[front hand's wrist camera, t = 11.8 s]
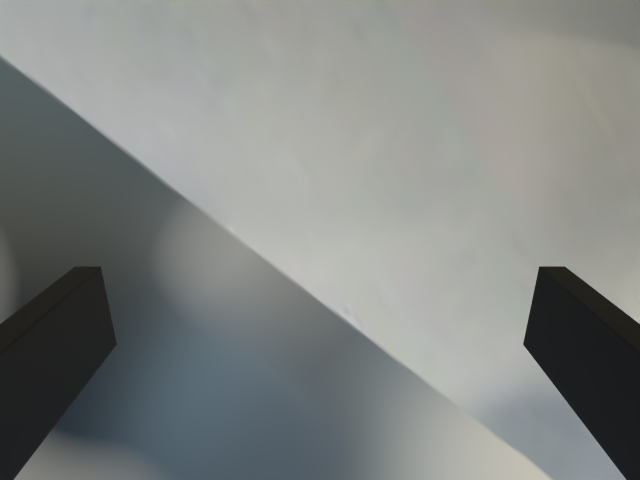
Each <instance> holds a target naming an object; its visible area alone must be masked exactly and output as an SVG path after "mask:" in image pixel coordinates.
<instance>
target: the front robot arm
mask: <svg viewBox="0 0 640 480" xmlns="http://www.w3.org/2000/svg"><path fill="white" fill-rule="evenodd" d="M116 344H117V343H116V339H115V334H114V329H113V324H112V319H111V314H110V310H109V305H108V300H107V295H106V290H105V285H104V280H103V276H102V271H101V267H74V268H73V269H71V270H70V271H69V272H67V273H66V274H65V275H64V276H62V277H61V278H60V279H58V280H57V281H56V282H54V283H53V284H52V285H51V286H49V287H48V288H47V289H45V290H44V291H43V292H42V293H40V294H39V295H38V296H36V297H35V298H34V299H32V300H31V301H30V302H29V303H27V304H26V305H25V306H23V307H22V308H21V309H19V310H18V311H17V312H16V313H14V314H13V315H12V316H10V317H9V318H8V319H7V320H5V321H4V322H3V323H1V324H0V480H14V478H15V477H16V476H17V474H18V473H19V472H20V470H21V469H22V468H23V466H24V465H25V464H26V463H27V461H28V460H29V459H30V457H31V456H32V455H33V453H34V452H35V451H36V449H37V448H38V447H39V446H40V444H41V443H42V442H43V440H44V439H45V438H46V436H47V435H48V434H49V432H50V431H51V430H52V429H53V427H54V426H55V425H56V423H57V422H58V421H59V419H60V418H61V417H62V415H63V414H64V413H65V411H66V410H67V409H68V407H69V406H70V405H71V404H72V402H73V401H74V400H75V398H76V397H77V396H78V394H79V393H80V392H81V390H82V389H83V388H84V387H85V385H86V384H87V383H88V381H89V380H90V379H91V377H92V376H93V375H94V373H95V372H96V371H97V370H98V368H99V367H100V366H101V364H102V363H103V362H104V360H105V359H106V358H107V356H108V355H109V354H110V353H111V351H112V350H113V349H114V347H115V346H116ZM523 345H524V346H525V347H526V349H527V350H528V351H529V353H530V354H531V355H532V356H533V358H534V359H535V360H536V362H537V363H538V364H539V366H540V367H541V368H542V370H543V371H544V372H545V373H546V375H547V376H548V377H549V379H550V380H551V381H552V383H553V384H554V385H555V387H556V388H557V389H558V391H559V392H560V393H561V394H562V396H563V397H564V398H565V400H566V401H567V402H568V404H569V405H570V406H571V408H572V409H573V410H574V411H575V413H576V414H577V415H578V417H579V418H580V419H581V421H582V422H583V423H584V425H585V426H586V427H587V429H588V430H589V431H590V432H591V434H592V435H593V436H594V438H595V439H596V440H597V442H598V443H599V444H600V446H601V447H602V448H603V450H604V451H605V452H606V453H607V455H608V456H609V457H610V459H611V460H612V461H613V463H614V464H615V465H616V467H617V468H618V469H619V470H620V472H621V473H622V474H623V476H624V477H625V478H626V480H640V324H639V323H637V322H636V321H635V320H634V319H632V318H631V317H630V316H628V315H627V314H626V313H624V312H623V311H622V310H621V309H619V308H618V307H617V306H615V305H614V304H613V303H611V302H610V301H609V300H608V299H606V298H605V297H604V296H602V295H601V294H600V293H598V292H597V291H596V290H595V289H593V288H592V287H591V286H589V285H588V284H587V283H586V282H584V281H583V280H582V279H580V278H579V277H578V276H576V275H575V274H574V273H573V272H571V271H570V270H569V269H567V268H566V267H539V271H538V276H537V280H536V285H535V290H534V295H533V300H532V305H531V310H530V314H529V319H528V324H527V329H526V334H525V339H524V343H523Z"/></svg>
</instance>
